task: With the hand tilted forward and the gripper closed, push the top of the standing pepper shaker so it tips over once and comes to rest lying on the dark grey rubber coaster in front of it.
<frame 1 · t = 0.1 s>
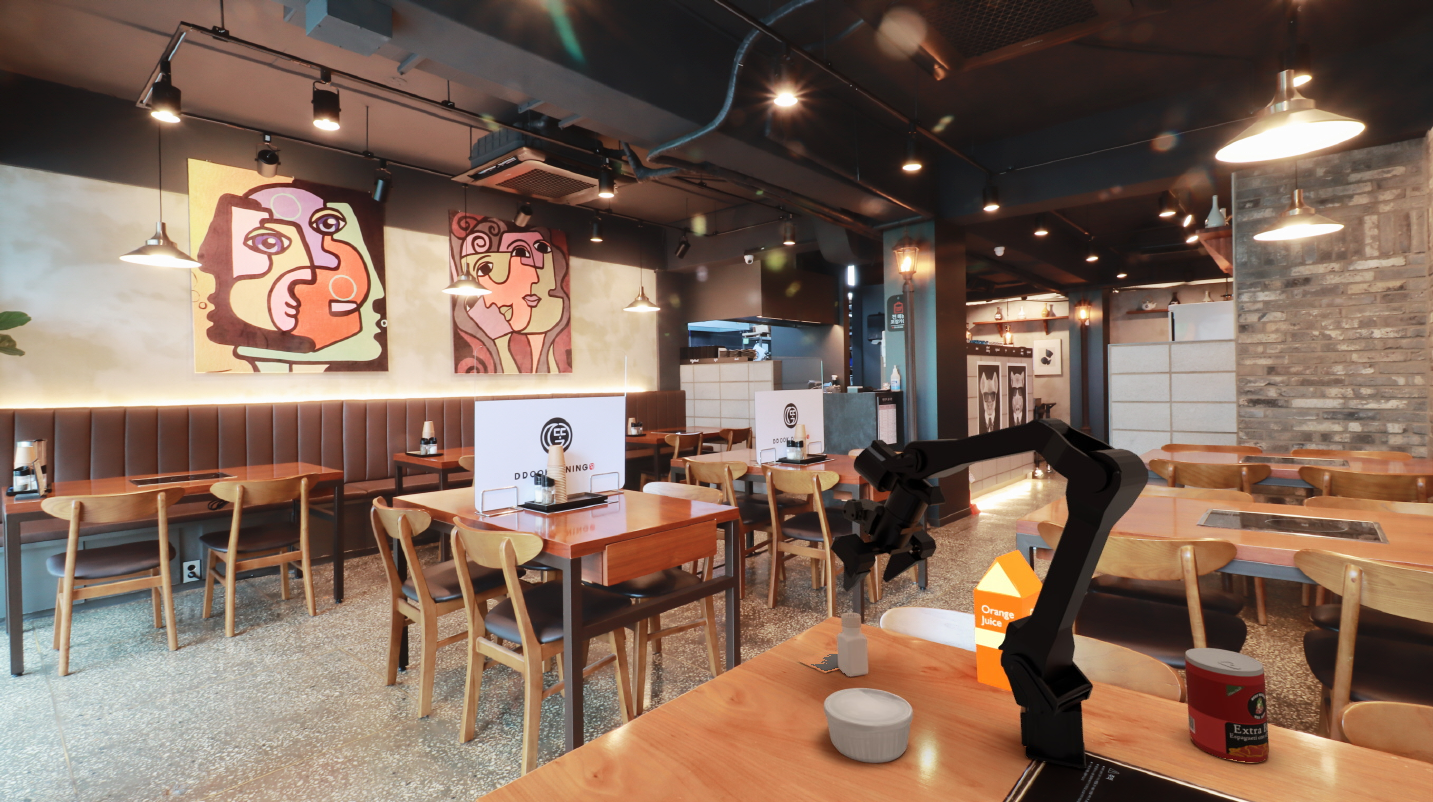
hand: (865, 585, 106), 15 cm above the table, tool tilted 35°, fingers open, 9 cm apart
orange juice: (1013, 681, 102), on the table
ramekin: (869, 747, 83), on the table
canned food: (1228, 749, 79), on the table
coaster: (827, 662, 112), on the table
pepper shaker: (853, 673, 107), on the table
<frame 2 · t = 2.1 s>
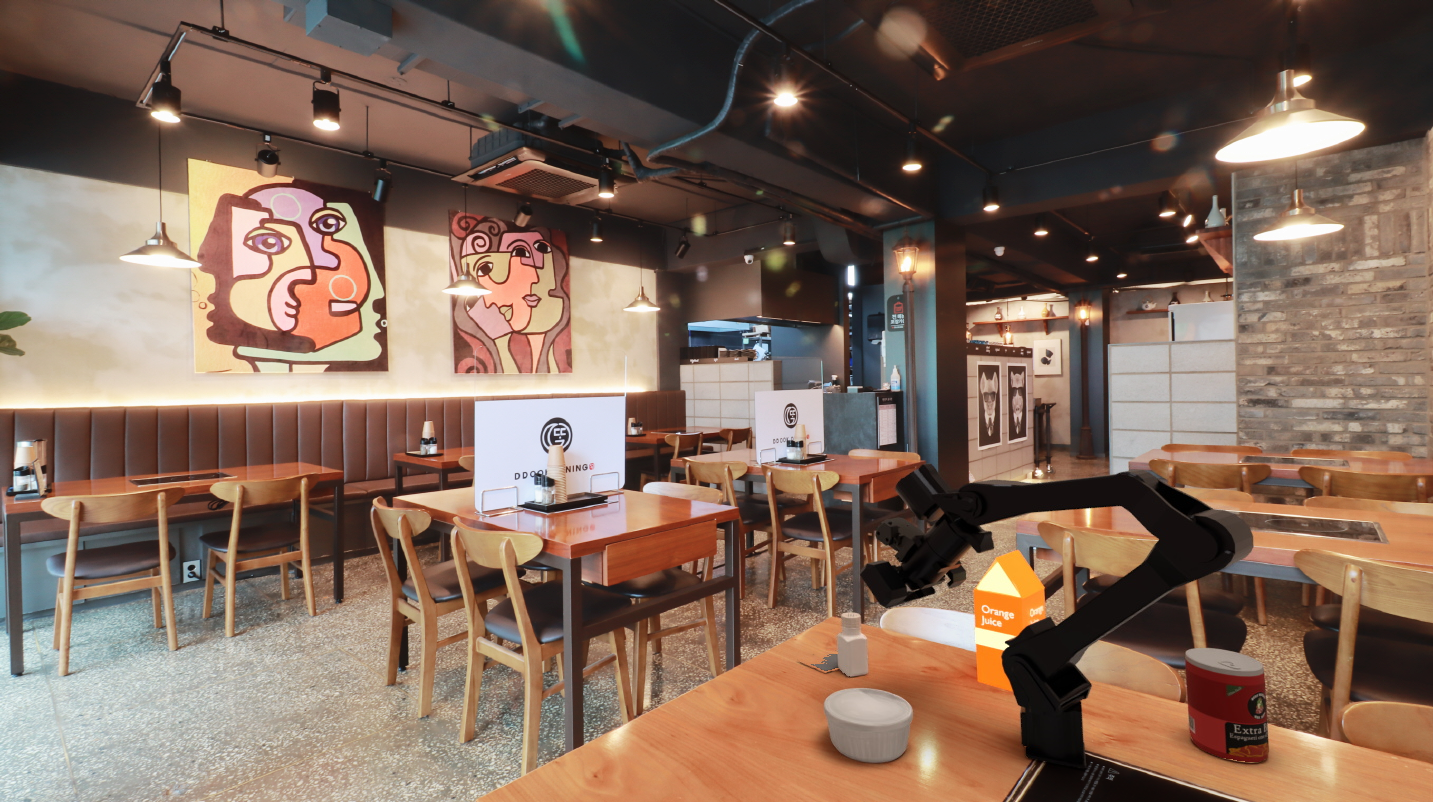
hand: (885, 605, 101), 13 cm above the table, tool tilted 45°, fingers closed
nothing on the table moved.
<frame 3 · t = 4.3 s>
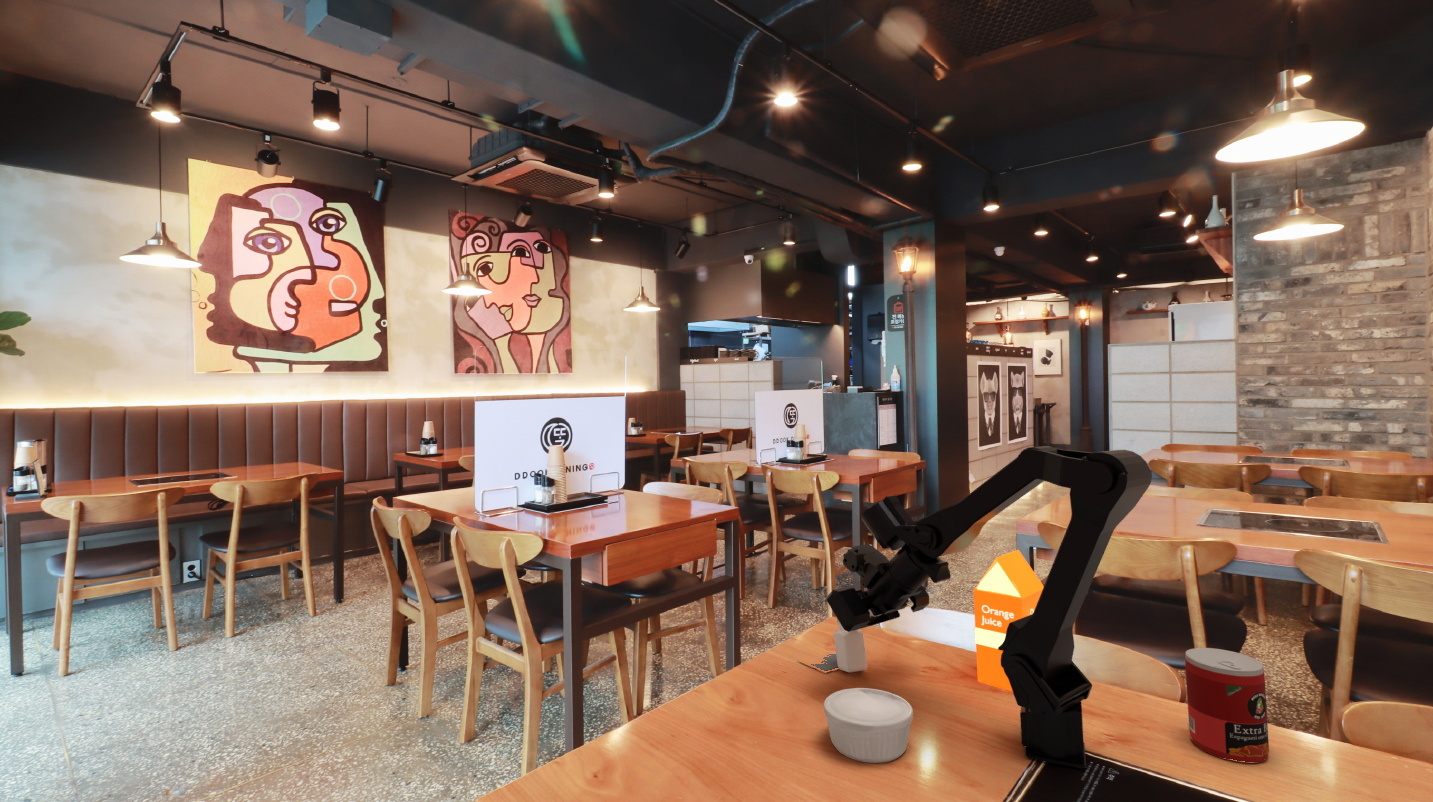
hand: (853, 627, 107), 8 cm above the table, tool tilted 45°, fingers closed
pepper shaker: (853, 671, 107), on the table, touching gripper
everything else where it was.
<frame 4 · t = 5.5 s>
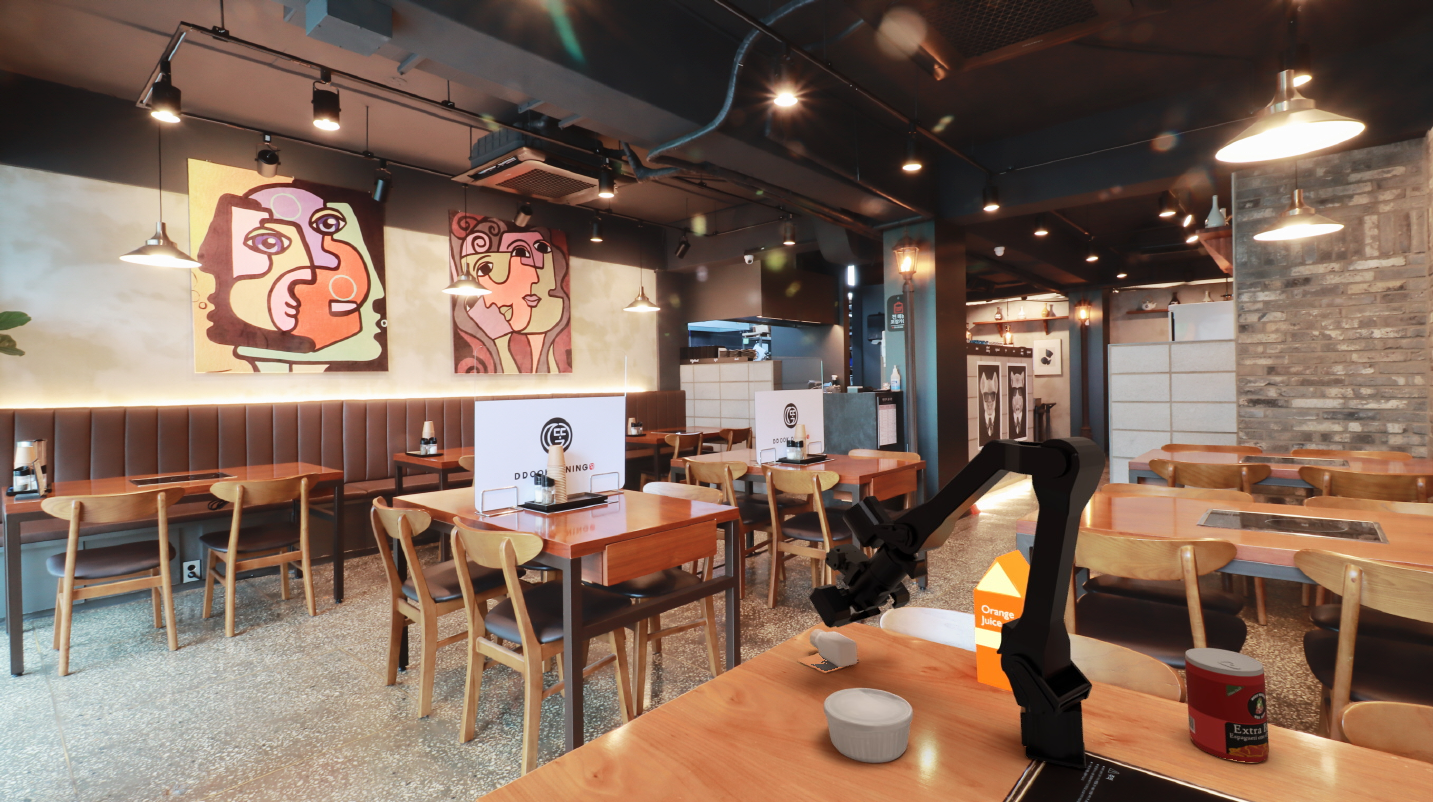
hand: (836, 624, 110), 7 cm above the table, tool tilted 45°, fingers closed
pepper shaker: (849, 655, 108), point 2 cm above the table, touching coaster
everything else where it was.
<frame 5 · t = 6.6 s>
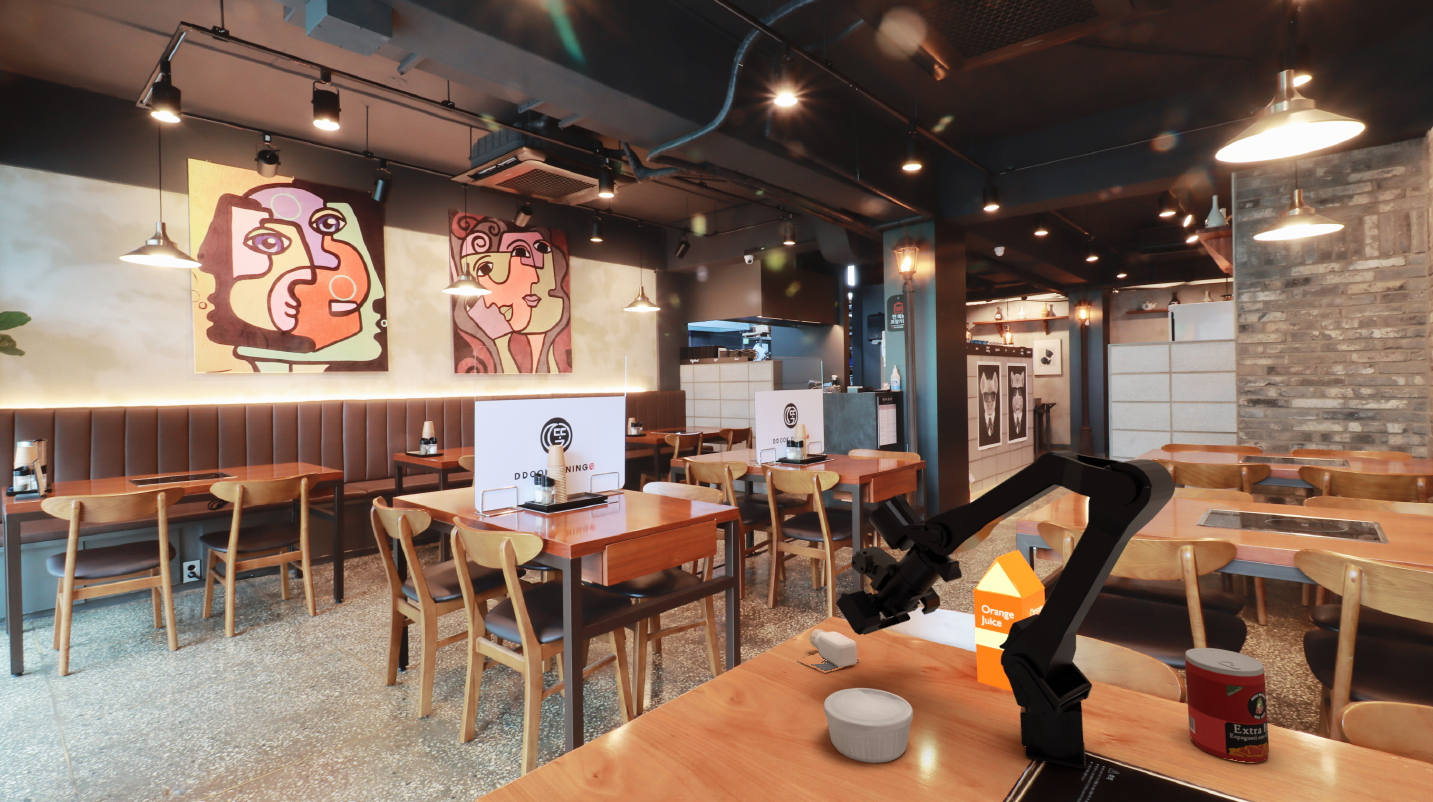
hand: (863, 631, 105), 7 cm above the table, tool tilted 45°, fingers closed
nothing on the table moved.
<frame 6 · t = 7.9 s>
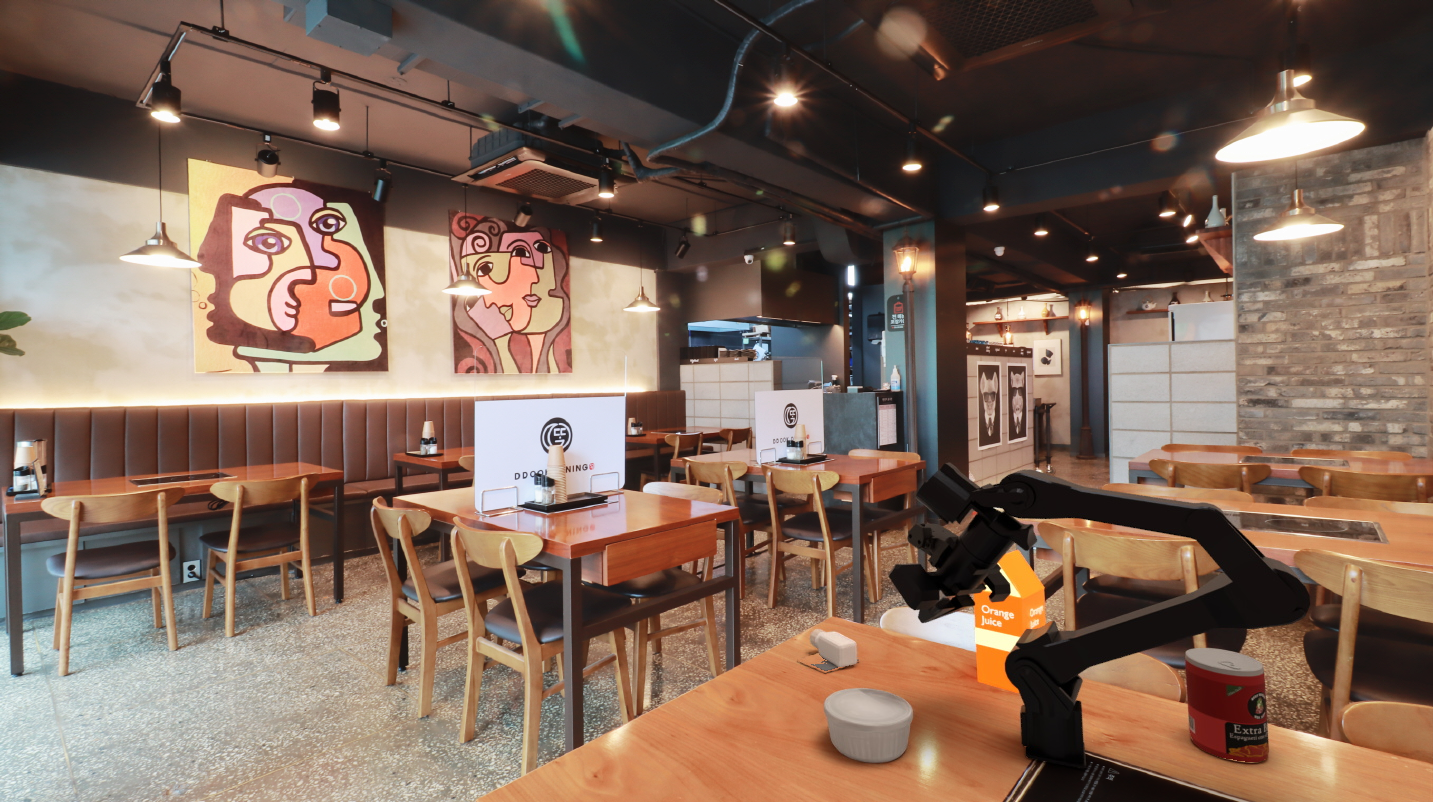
hand: (921, 620, 93), 13 cm above the table, tool tilted 40°, fingers closed
nothing on the table moved.
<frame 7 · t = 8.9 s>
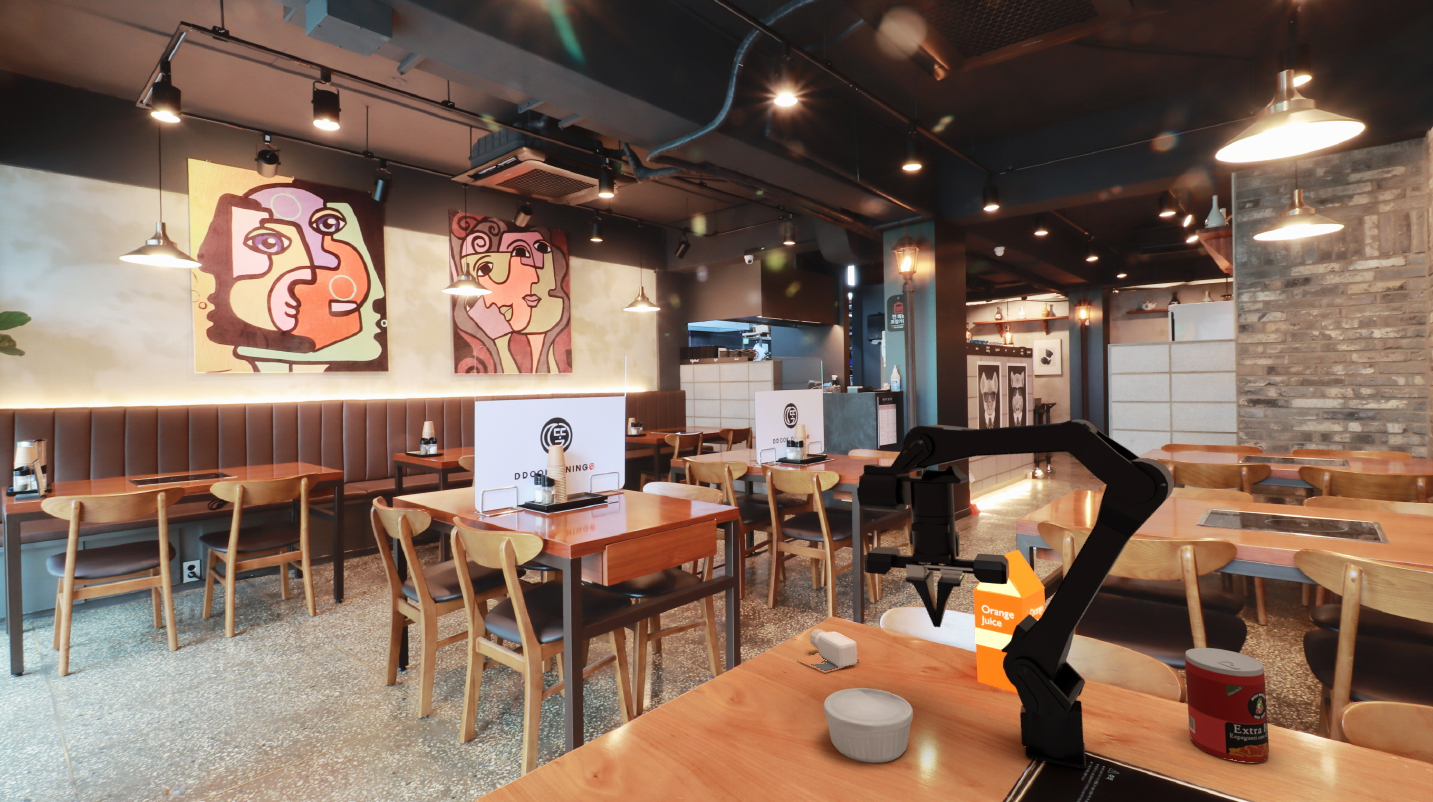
hand: (937, 626, 89), 13 cm above the table, tool pointing down, fingers closed
nothing on the table moved.
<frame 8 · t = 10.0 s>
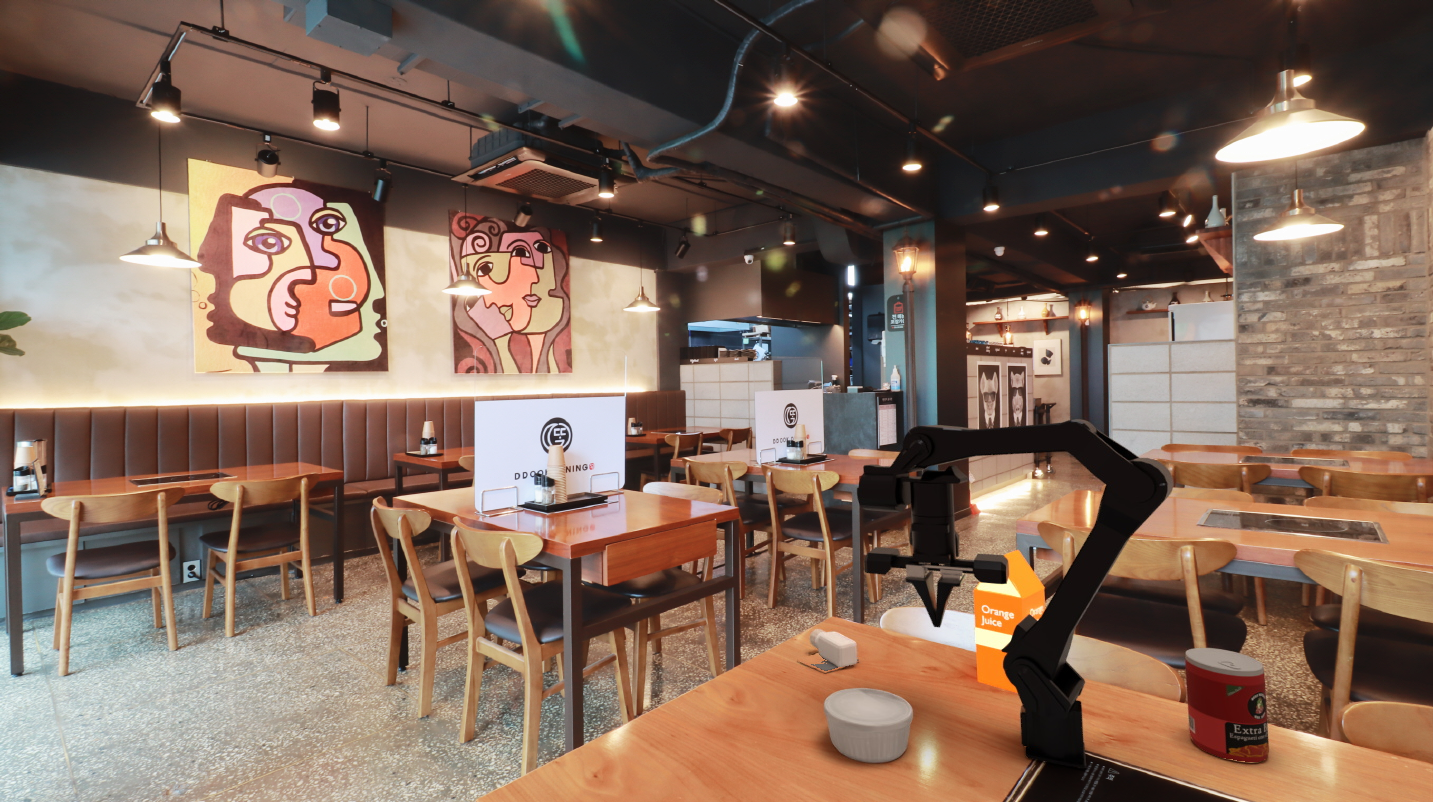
hand: (937, 626, 89), 13 cm above the table, tool pointing down, fingers closed
nothing on the table moved.
at the end: pepper shaker tilted 88°; pepper shaker touching coaster; ramekin moved 0.3 cm from its start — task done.
